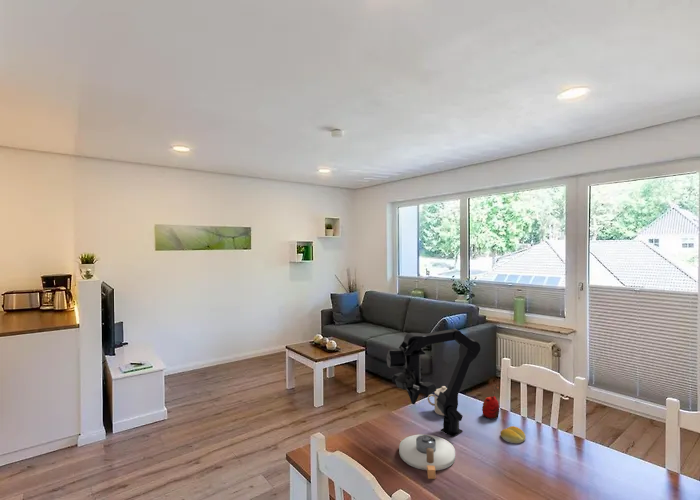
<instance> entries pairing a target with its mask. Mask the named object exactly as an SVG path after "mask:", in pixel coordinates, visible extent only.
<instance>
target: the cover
mask: <svg viewBox="0 0 700 500" xmlns="http://www.w3.org/2000/svg"><path fill="white" fill-rule="evenodd" d="M428 435H429V434H425V435H423V436H419V437H417V438H416V449H417V450H418V451H419V452H421V453H424V454H427V452H426V449H427V448H432V449H433V450H434V452H435V451H436V440H435V439H434V438H433V437H431V436H428Z"/></svg>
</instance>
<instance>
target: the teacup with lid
mask: <svg viewBox="0 0 700 500" xmlns="http://www.w3.org/2000/svg"><path fill="white" fill-rule="evenodd" d="M446 389H447V387H446V386H445V385H441V387H440V388H436V391H435V392H433V393H430V394H428V396H427V401H428V404H429V405H431V406H432V407H433V406H434V412H435V413H436V414H437V415H440V416H443V417H444V414H443V413H442V412H441V410H440V409H439V408H438V406H437V400H436V399H437V398H438V397H439V393H440V391H441V392H444V391H446ZM431 397H433V398H434V402H431V400H430V398H431Z"/></svg>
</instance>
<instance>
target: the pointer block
mask: <svg viewBox="0 0 700 500" xmlns="http://www.w3.org/2000/svg"><path fill="white" fill-rule="evenodd" d="M426 472H427V473H426V474H427V479H428V480H436V479H437V478H436V470H435V466H430V465H427V470H426Z"/></svg>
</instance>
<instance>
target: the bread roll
mask: <svg viewBox="0 0 700 500" xmlns="http://www.w3.org/2000/svg"><path fill="white" fill-rule="evenodd" d="M500 436H501V438H502V440H504V441H505V442H508V443H509V444H510V443H512V444H521V443H523V442H525V440H526V434H525V431H523V430H522V429H521V428H519V427H517V426H515V425H513V426H512V425H511V426H508V427H506V428H504V429H502V430H501V431H500Z"/></svg>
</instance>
